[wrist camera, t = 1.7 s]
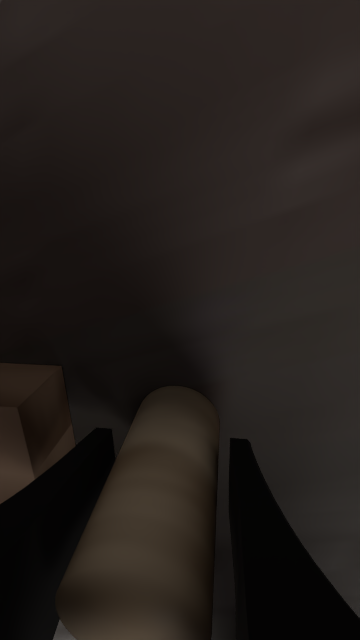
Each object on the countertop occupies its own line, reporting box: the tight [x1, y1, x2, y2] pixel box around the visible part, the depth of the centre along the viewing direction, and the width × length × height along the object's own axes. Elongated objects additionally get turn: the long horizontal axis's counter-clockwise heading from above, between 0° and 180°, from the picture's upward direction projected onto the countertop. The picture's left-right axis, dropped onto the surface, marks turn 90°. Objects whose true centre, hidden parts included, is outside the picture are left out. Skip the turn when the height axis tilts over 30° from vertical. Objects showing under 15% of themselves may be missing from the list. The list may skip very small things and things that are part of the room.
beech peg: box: [55, 386, 220, 640], centre depth 10 cm, size 4×4×7 cm
